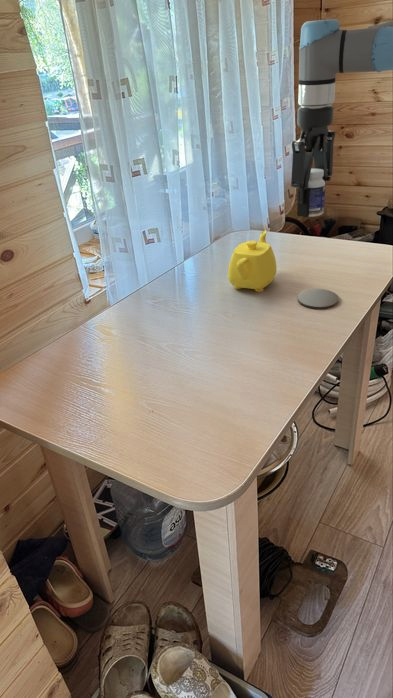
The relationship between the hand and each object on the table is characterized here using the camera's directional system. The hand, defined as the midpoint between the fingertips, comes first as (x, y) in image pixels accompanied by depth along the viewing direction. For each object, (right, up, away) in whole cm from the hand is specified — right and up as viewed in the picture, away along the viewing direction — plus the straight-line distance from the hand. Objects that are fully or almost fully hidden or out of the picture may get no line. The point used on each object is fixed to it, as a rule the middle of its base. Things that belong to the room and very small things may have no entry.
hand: (310, 212), depth 122 cm
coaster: (0, -21, -6) cm, 22 cm away
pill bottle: (0, 0, 0) cm, 1 cm away
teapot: (-13, -16, +4) cm, 21 cm away
